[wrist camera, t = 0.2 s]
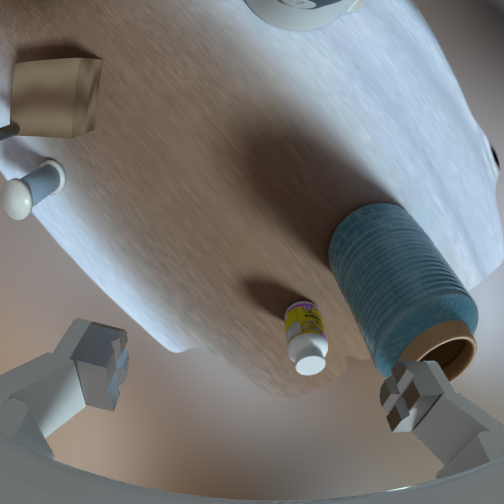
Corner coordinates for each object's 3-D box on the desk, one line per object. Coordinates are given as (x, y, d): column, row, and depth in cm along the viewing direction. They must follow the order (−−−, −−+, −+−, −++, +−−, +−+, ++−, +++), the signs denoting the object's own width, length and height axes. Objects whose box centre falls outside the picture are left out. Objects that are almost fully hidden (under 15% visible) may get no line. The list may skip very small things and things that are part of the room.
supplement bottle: (327, 312, 58) (340, 364, 47) (300, 332, 60) (308, 384, 49) (303, 292, 56) (313, 345, 44) (276, 314, 58) (280, 368, 47)
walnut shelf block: (41, 62, 35) (14, 63, 29) (102, 59, 36) (79, 57, 30) (35, 126, 40) (9, 135, 34) (94, 129, 42) (71, 138, 35)
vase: (430, 246, 51) (511, 351, 28) (361, 301, 57) (407, 424, 33) (384, 179, 45) (484, 275, 22) (306, 245, 51) (341, 380, 28)
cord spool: (39, 158, 43) (-1, 178, 34) (66, 160, 44) (27, 182, 34) (40, 191, 46) (2, 216, 37) (66, 195, 47) (30, 222, 37)
